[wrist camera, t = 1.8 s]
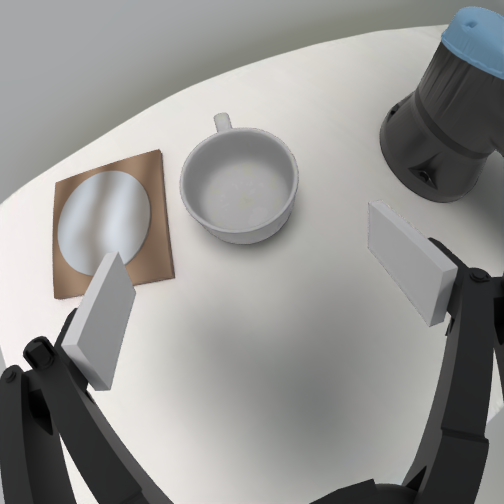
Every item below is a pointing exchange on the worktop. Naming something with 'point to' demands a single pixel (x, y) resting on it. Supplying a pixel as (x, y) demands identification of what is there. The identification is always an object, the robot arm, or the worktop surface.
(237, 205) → the teacup
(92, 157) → the worktop surface
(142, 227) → the walnut board
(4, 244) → the worktop surface
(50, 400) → the robot arm
